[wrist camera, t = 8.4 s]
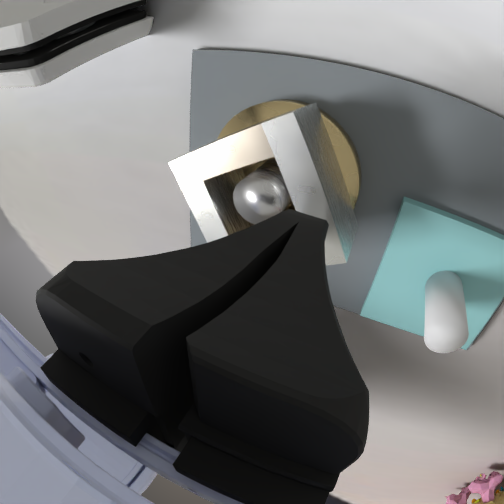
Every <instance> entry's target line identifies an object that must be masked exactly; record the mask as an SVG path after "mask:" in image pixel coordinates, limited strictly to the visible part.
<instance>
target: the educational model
mask: <svg viewBox="0 0 504 504" xmlns="http://www.w3.org/2000/svg"><path fill="white" fill-rule="evenodd" d="M480 476H481V477H477V478H476V479H475V480H474V481H473V482H472V483H471V484H470V485H469V486H468V487H465V488H462V491H461V493H460V494H459V495H455V494H452V495H450V496H448V497H447V496H445V497H446V498H447V503H446V504H467V499H468V497H469V495H470V494H471V492H472V493H479V494H481V498H480V499H478V500H476V499H473V500H472V504H504V488H503V487H501V491H499V489H498V490H496V492H495V493H494V490H495V488H496V486H497V485H499V484H500V483H501V482H502V480H503V476H502V475H501V474H499V473H498V472H494V471H493V472H492V473H491V474H490V475H489V477H488V479H485V477H486V476H487V475H485V474H480Z"/></svg>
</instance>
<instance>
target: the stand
mask: <svg viewBox="0 0 504 504" xmlns="http://www.w3.org/2000/svg"><path fill="white" fill-rule="evenodd" d="M503 297H504V235H502V234H500V233H498V232H495V231H493V230H491V229H488V228H486V227H484V226H481V225H479V224H477V223H474V222H472V221H469V220H467V219H464V218H462V217H459V216H457V215H454V214H451V213H449V212H446V211H443V210H441V209H438V208H435V207H433V206H430V205H427V204H424V203H422V202H419V201H416V200H413V199H410V198H407V197H403V200H402V204H401V207H400V210H399V213H398V216H397V219H396V222H395V224H394V227H393V230H392V233H391V236H390V239H389V241H388V244H387V247H386V250H385V252H384V255H383V257H382V260H381V263H380V265H379V268H378V270H377V273H376V275H375V278H374V280H373V283H372V285H371V288H370V290H369V293H368V295H367V297H366V300H365V302H364V304H363V307H362V309H361V313H360V316H363V317H366V318H369V319H372V320H375V321H378V322H381V323H384V324H387V325H390V326H393V327H396V328H399V329H402V330H405V331H408V332H411V333H414V334H417V335H420V336H424V342H425V344H426V346H427V347H428V348H429V349H430V350H432V351H434V352H437V353H450V352H454V351H456V350H458V349H460V348H461V349H464V350H466V349H467V348H468V347H469V346H470V344H471V343H472V342H473V340H474V339H475V338H476V336H477V335H478V334H479V332H480V331H481V330H482V328H483V327H484V325H485V324H486V323H487V321H488V320H489V318H490V317H491V315H492V314H493V313H494V311H495V310H496V308H497V307H498V305H499V304H500V302H501V300H502V299H503Z"/></svg>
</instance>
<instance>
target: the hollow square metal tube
mask: <svg viewBox="0 0 504 504" xmlns="http://www.w3.org/2000/svg"><path fill="white" fill-rule="evenodd" d="M271 157H275V159H276V161H277V164H278V166H279V169H280V171H281V174H282V176H283V179H284V181H285V184H286V186H287V189H288V192H289V194H290V197H291V199H292V202H293V204H294V207H295V210H296V211H298V212H301V213H304V214H308V215H311V216H314V217H318V218H321V219H324V220H327V222H328V224H329V227H328V231H327V235H326V239H325V264H326V266H327V265H335V264H343V263H347V260H348V257H349V254H350V251H351V248H352V245H353V241H354V238H355V235H356V232H357V228H358V223H357V220H356V216H355V213H354V210H353V206H352V203H351V200H350V197H349V193H348V190H347V187H346V184H345V181H344V178H343V175H342V172H341V169H340V166H339V163H338V160H337V157H336V154H335V152H334V149H333V146H332V143H331V140H330V138H329V135H328V132H327V130H326V127H325V124H324V122H323V119H322V117H321V114H320V111H319V109H318V106H317V104H316V103H313V104H310V105H307V106H304V107H301V108H298V109H295V110H292V111H289V112H286V113H283V114H281V115H278V116H275V117H272V118H270V119H267V120H264V121H262V122H259V123H256V124H254V125H251V126H249V127H246V128H244V129H241V130H239V131H236V132H234V133H231V134H229V135H226V136H224V137H222V138H219V139H217V140H215V141H212V142H210V143H208V144H205V145H203V146H201V147H199V148H197V149H195V150H193V151H191V152H189V153H187V154H185V155H183V156H181V157H179V158H177V159H175V160H173V161H171V162H169V165H170V167H171V169H172V171H173V173H174V175H175V177H176V179H177V181H178V184H179V186H180V188H181V190H182V192H183V194H184V196H185V198H186V200H187V202H188V204H189V206H190V208H191V210H192V213H193V215H194V217H195V219H196V221H197V223H198V225H199V227H200V229H201V231H202V233H203V235H204V237H205V239H206V241H207V243H208V242H211V241H214V240H217V239H220V238H223V237H225V236H228V235H230V234H233V233H235V232H238V231H241V230H243V229H246V228H248V227H250V226H253V225H255V224H252V223H250V222H248V221H246V220H245V219H244V218H243V217H242V216H241V215H240V214H239V213H238V211H237V209H236V208H235V205H234V201H233V192H234V189H235V187H236V185H237V184H238V183H239V182H240V181H241V180H243V179H244V178H245V174H244V172H243V170H242V168H241V167H244V166H247V165H250V164H253V163H256V162H259V161H262V160H265V159H268V158H271Z"/></svg>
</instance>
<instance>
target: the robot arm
mask: <svg viewBox="0 0 504 504" xmlns="http://www.w3.org/2000/svg"><path fill="white" fill-rule="evenodd" d="M328 227H329V224H328V222H327V220H324V219H321V218H318V217H314V216H311V215H308V214H304V213H301V212H298V211H294V210H291V209H288V210H285V211H283V212H281V213H279V214H277V215H275V216H272V217H270V218H268V219H266V220H264V221H262V222H259V223H257V224H255V225H253V226H250V227H248V228H246V229H243V230H241V231H238V232H235V233H233V234H230V235H228V236H225V237H223V238H220V239H217V240H214V241H211V242H208V243H204V244H201V245H197V246H194V247H190V248H186V249H181V250H176V251H172V252H167V253H162V254H157V255H151V256H144V257H137V258H128V259H117V260H99V261H73V262H72V263H70V264H69V265H68V266H67V267H65V268H64V269H63V270H62V271H61V272H59V273H58V274H57V275H56V276H54V277H53V278H52V279H51V280H50V281H48V282H47V283H46V284H45V285H44V286H42V287H41V288H40V289H39V290H38V291H37V295H36V303H37V307H38V310H39V312H40V315H41V317H42V319H43V321H44V323H45V325H46V327H47V329H48V330H49V332H50V334H51V336H52V338H53V340H54V341H55V343H56V345H57V347H58V350H57V351H56V352H55V353H54V354H50V355H48V356H47V357H44V356H43V355H42V354H41V353H40V352H39V351H38V350H37V349H36V348H35V347H34V346H33V345H31V344H30V343H29V342H28V341H27V340H26V339H25V338H24V337H23V336H22V335H21V334H20V333H19V332H18V331H17V330H16V329H15V328H14V327H13V326H12V325H11V324H10V323H9V322H8V321H7V320H6V318H5V317H4V316H3V315H2V314H1V313H0V504H154V503H153V502H151V501H149V500H148V499H146V498H144V497H143V496H141V494H142V493H143V492H144V491H145V490H146V488H147V487H148V486H149V485H150V484H151V482H152V481H153V480H154V478H155V477H156V475H157V473H158V474H159V475H161V476H163V477H165V478H166V479H168V480H170V481H172V482H173V483H175V484H177V485H179V486H181V487H182V488H184V489H186V490H188V491H190V492H192V493H194V494H196V495H198V496H200V497H202V498H204V499H206V500H208V501H210V502H213V503H215V504H325V502H326V499H327V497H328V494H329V492H331V491H333V489H334V487H335V485H336V482H337V480H338V477H339V474H340V472H342V471H343V470H344V469H346V468H347V467H348V466H350V465H351V464H352V463H354V462H355V461H356V460H357V459H358V458H359V457H360V456H361V454H362V453H363V451H364V448H365V444H366V439H367V433H368V425H369V391H368V389H367V387H366V385H365V383H364V381H363V379H362V377H361V375H360V373H359V371H358V369H357V367H356V365H355V363H354V361H353V359H352V356H351V354H350V352H349V349H348V347H347V345H346V343H345V340H344V337H343V334H342V331H341V328H340V326H339V323H338V320H337V317H336V314H335V310H334V307H333V303H332V299H331V295H330V290H329V285H328V279H327V272H326V264H325V239H326V235H327V231H328Z"/></svg>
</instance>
